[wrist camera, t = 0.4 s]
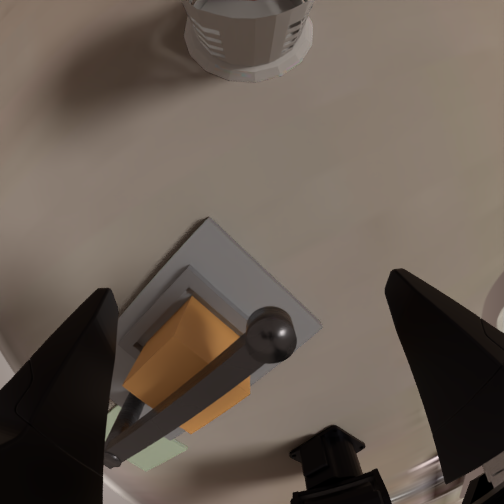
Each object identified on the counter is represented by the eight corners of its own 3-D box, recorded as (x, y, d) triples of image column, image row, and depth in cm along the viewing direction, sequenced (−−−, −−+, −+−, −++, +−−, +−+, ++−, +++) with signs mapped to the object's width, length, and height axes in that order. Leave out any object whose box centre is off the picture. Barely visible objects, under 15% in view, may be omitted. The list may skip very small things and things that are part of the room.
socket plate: (320, 321, 24) (325, 332, 22) (172, 434, 28) (168, 446, 26) (209, 216, 22) (205, 220, 20) (80, 365, 25) (72, 375, 24)
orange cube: (250, 344, 23) (250, 394, 18) (201, 384, 24) (190, 434, 19) (192, 295, 22) (173, 335, 16) (146, 341, 23) (121, 385, 18)
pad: (187, 447, 28) (187, 449, 28) (146, 469, 30) (146, 471, 29) (120, 401, 26) (118, 404, 26) (87, 430, 28) (86, 432, 28)
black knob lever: (139, 412, 25) (114, 473, 17) (119, 397, 25) (89, 457, 17) (288, 282, 22) (307, 341, 14) (264, 260, 21) (272, 310, 13)
